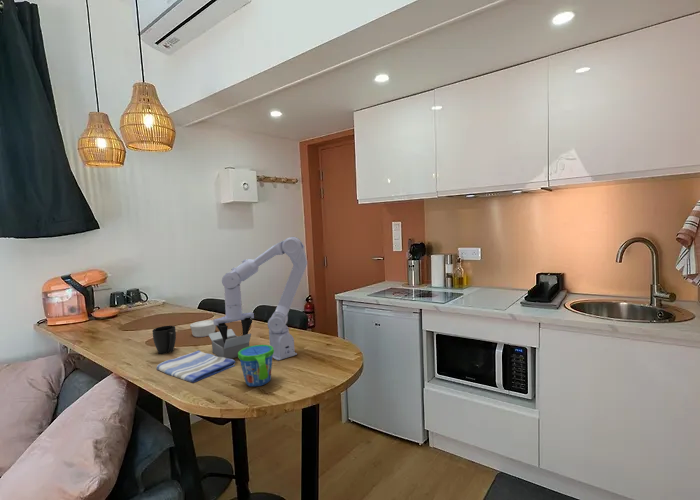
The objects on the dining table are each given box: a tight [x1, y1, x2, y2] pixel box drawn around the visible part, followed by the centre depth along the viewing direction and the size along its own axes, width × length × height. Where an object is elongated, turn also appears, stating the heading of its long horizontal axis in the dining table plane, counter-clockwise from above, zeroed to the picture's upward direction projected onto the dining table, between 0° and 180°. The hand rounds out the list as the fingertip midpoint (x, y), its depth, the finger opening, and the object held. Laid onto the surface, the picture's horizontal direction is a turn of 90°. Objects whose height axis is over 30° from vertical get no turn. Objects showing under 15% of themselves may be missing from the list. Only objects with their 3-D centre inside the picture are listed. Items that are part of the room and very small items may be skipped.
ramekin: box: [189, 319, 217, 338], centre depth 170 cm, size 11×11×5 cm
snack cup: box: [237, 344, 274, 387], centre depth 112 cm, size 16×10×10 cm
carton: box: [211, 335, 251, 359], centre depth 141 cm, size 12×10×4 cm
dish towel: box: [156, 350, 236, 383], centre depth 128 cm, size 17×24×3 cm
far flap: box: [207, 328, 237, 342], centre depth 147 cm, size 4×9×1 cm, turn 130°
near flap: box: [224, 333, 252, 349], centre depth 135 cm, size 4×9×1 cm
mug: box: [152, 325, 177, 355], centre depth 146 cm, size 8×12×10 cm
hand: (235, 340), depth 136 cm, fingers open, 7 cm apart
